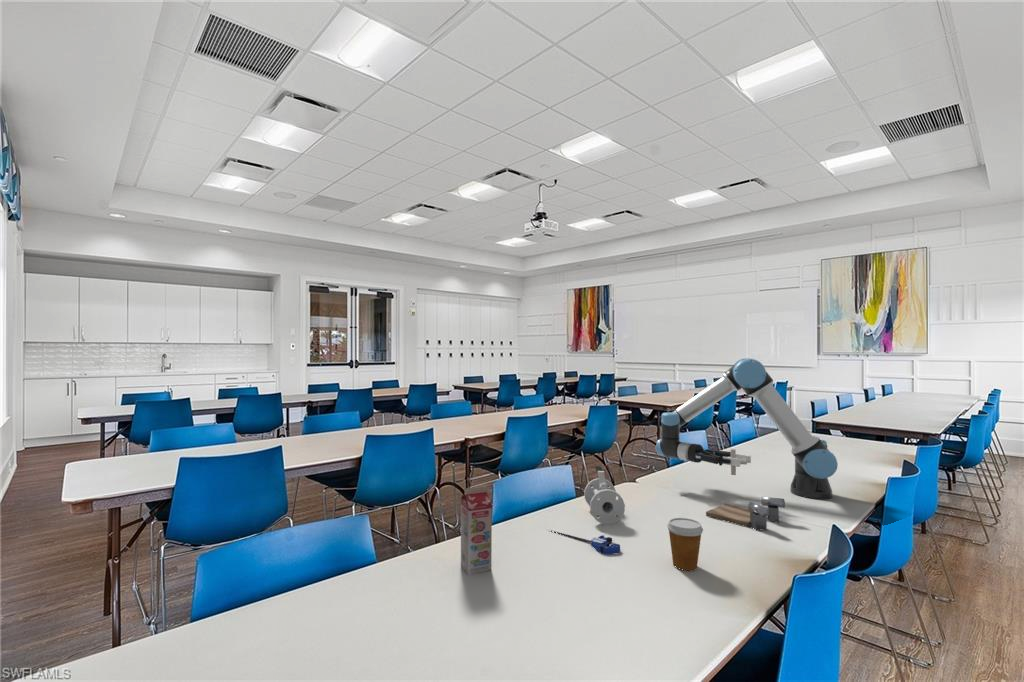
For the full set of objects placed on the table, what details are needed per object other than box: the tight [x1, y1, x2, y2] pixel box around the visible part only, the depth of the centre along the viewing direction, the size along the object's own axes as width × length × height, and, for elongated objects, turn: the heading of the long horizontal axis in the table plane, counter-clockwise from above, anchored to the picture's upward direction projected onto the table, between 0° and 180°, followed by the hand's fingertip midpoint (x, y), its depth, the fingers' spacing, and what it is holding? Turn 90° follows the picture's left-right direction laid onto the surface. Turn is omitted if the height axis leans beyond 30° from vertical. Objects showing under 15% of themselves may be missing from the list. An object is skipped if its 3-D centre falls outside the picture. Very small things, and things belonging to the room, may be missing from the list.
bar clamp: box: [550, 529, 621, 555], centre depth 159 cm, size 32×2×10 cm
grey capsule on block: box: [761, 496, 786, 524], centre depth 176 cm, size 7×4×8 cm, turn 71°
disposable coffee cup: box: [666, 517, 704, 571], centre depth 138 cm, size 10×10×12 cm
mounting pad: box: [705, 503, 753, 527], centre depth 180 cm, size 15×15×2 cm
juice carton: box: [460, 485, 493, 575], centre depth 137 cm, size 7×7×22 cm
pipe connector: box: [722, 448, 748, 476], centre depth 196 cm, size 10×10×10 cm
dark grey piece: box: [747, 501, 769, 531], centre depth 168 cm, size 7×4×8 cm, turn 11°
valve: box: [584, 465, 626, 526], centre depth 182 cm, size 22×12×15 cm, turn 179°
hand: (745, 461), depth 192 cm, fingers closed on pipe connector, 8 cm apart
